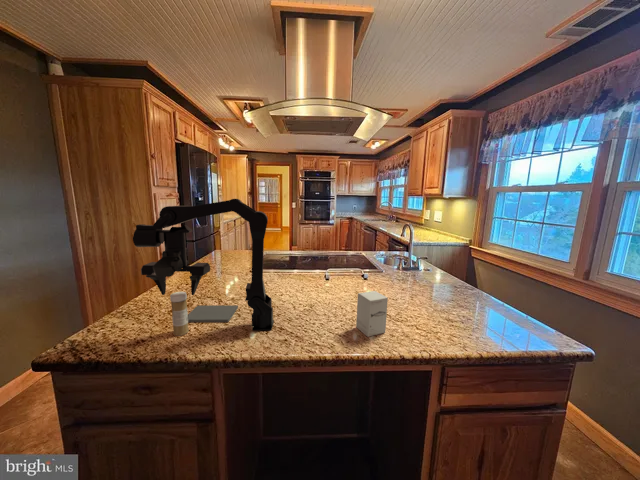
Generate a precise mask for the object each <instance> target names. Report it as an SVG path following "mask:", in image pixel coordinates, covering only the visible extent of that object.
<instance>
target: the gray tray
mask: <svg viewBox="0 0 640 480" xmlns="http://www.w3.org/2000/svg"><path fill="white" fill-rule="evenodd" d="M238 308H239V305H231V304H230V305H227V304H226V305H222V304H221V305H219V304H218V305H217V304H216V305H215V304H213V305H196V306H195V308H193V309H192V310H191V311H190V312H189V313H188V323H229V322H230V320H231V319H232V317H233V316H234V315H235V313H236V312H237V310H238Z"/></svg>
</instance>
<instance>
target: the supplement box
mask: <svg viewBox="0 0 640 480" xmlns="http://www.w3.org/2000/svg"><path fill="white" fill-rule="evenodd" d="M388 301H389V300H388V297H387V296H386V295H384V294H382V293H380V292H378V291H377V290H373V291H372V290H371V291H365V292H358V293H357V302H356V303H357V304H356V322H355V323H356V324H355V327H356V328H357V329H358V330H359V331H360V332H361V333H362V334H364V335H365V336H366V337H367V338H368V337H372V336H376V335H380V334H384V333H386V330H387V328H386V327H387V317H388V316H387V313H388Z"/></svg>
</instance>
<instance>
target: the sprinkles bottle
mask: <svg viewBox="0 0 640 480" xmlns="http://www.w3.org/2000/svg"><path fill="white" fill-rule="evenodd" d="M169 296H170V297H169V298H170V303H171V314H172V315H171V318H172V319H171V321H172V326H173V328H172V329H173V331H172V334H173V335H174V336H184V335H186V334H188V332H189V331H190V329H189V322H188V314H189V313H188V306H187V305H188V301H187V299H188V295H187V292H186V291H177V292H175V291H174V292H173V293H171V294H170V295H169Z"/></svg>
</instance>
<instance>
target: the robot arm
mask: <svg viewBox="0 0 640 480" xmlns="http://www.w3.org/2000/svg"><path fill="white" fill-rule="evenodd" d="M231 212H234V213H235V214H236V215H238V216H239V217H241V218H242V219H243V220H245V221H246V222H247V223H248V225H249V226H248V227H249V232H250V235H251V245H252V246H251V281H250V282H251V283H250V282H247V283H246V286H245V294H246V296H245V300H244V301H245V302H246V303H247V305H248V307H249V308H250V309H252V314H251V326H252V328H251V329H252V331H272V330H273V327H274V322H275V320H274V308H273V306H272V305H273V304H272V303H273V302H272V297H270V296H269V295H268V294H266V288H265V283H264V277H263V276H264V248H265V247H264V244H265V242H264V241H265V236H266V232H267V227H268V222H269V221H268V219H269V218H268V216H267V214H266V213H265V212H264V211H261V210H257V211H256V210H255V209H253V207H251V206H249V205H248V204H246V203H244V202H242V200H240V199H239V198H232V199H229V200H223V201H217V202H210V203H204V204H199V205H169V206H168V205H167V206H164V207H162V208H161V210H160V211H159V217H158V218H157V220H156V221H155V222H154V224H151V225H150V224H136V225H135V229H134V232H133V236H132V242H133V245H134V246H135V247H136V248H159V247H161V246H162V244H163V245H164V250H163V251H162V252H161V258H160V259H158V261H151V262H148V263H145V264H144V265H141V268H140V274H141V276H145V277H146V278H149V279H151V280H152V281H153V282H154V283H155V285H156V286H157V289H158V290H159V292H160V293H161V295H162V296H164V295H165V294H166V291H167V278H171V277H172V276H173V275H175V273H176V272H179V273H181V272H182V273H185V272H187V273H188V272H189V274H190V276H189V279H190V287H191V288H190V291H191V296H194V295H195V293H196V292H197V289H198V286H199V283H200V281H201V279H202V278H203V277H204V276H205V275H207V274H208V273H209V272H210V271H211V265H210V264H209V262H195V263H194V264H191V265H189V264H190V263H189V261H190V260H187V253H188V252H189V248H187V247H186V245H187V244H186V243H187V242H186V234H187V233H188V234H189V233H192V232H193V228H191V227H189V226H188V225H187V224H183V223H186V222H188V221H192V220H195V219H197V218H202V217H207V216H208V217H209V216H214V215H218V214H219V215H220V214H226V213H231ZM180 224H183V225H182V226H176V225H180ZM166 228H170V229H166Z"/></svg>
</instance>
